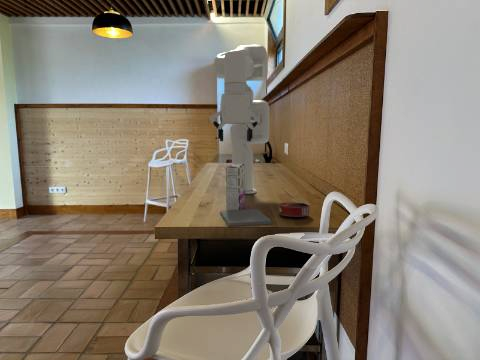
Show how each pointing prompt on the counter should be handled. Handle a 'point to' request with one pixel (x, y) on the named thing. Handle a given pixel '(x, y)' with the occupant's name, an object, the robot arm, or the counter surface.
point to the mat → (244, 217)
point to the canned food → (294, 208)
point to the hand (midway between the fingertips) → (235, 141)
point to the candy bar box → (235, 186)
